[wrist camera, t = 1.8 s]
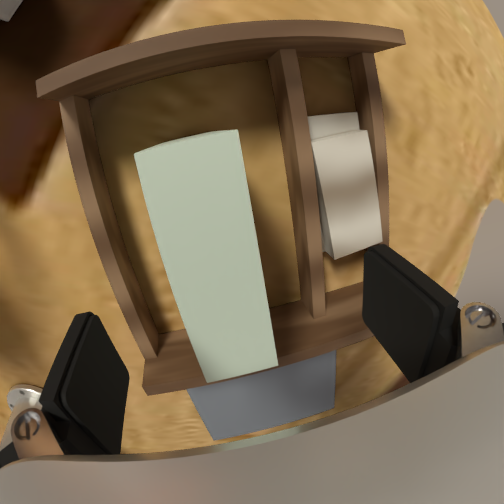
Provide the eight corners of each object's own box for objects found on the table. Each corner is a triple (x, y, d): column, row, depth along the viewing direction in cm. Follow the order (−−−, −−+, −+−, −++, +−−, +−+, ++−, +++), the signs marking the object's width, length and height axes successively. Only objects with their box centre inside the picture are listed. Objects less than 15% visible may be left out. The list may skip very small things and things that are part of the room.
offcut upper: (371, 234, 27) (382, 241, 25) (325, 250, 27) (334, 259, 25) (354, 129, 23) (367, 130, 21) (302, 141, 23) (311, 143, 21)
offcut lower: (357, 233, 29) (367, 240, 27) (312, 244, 29) (320, 252, 27) (346, 112, 24) (357, 112, 22) (295, 117, 24) (303, 117, 22)
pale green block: (239, 265, 27) (278, 365, 16) (196, 275, 27) (206, 382, 15) (212, 131, 22) (237, 129, 11) (163, 142, 22) (133, 153, 10)
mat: (332, 404, 39) (334, 407, 39) (213, 437, 37) (213, 440, 36) (333, 310, 32) (336, 313, 31) (170, 352, 30) (170, 355, 29)
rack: (374, 287, 32) (409, 321, 25) (151, 345, 29) (147, 395, 22) (356, 46, 21) (402, 29, 15) (73, 91, 18) (35, 80, 12)
